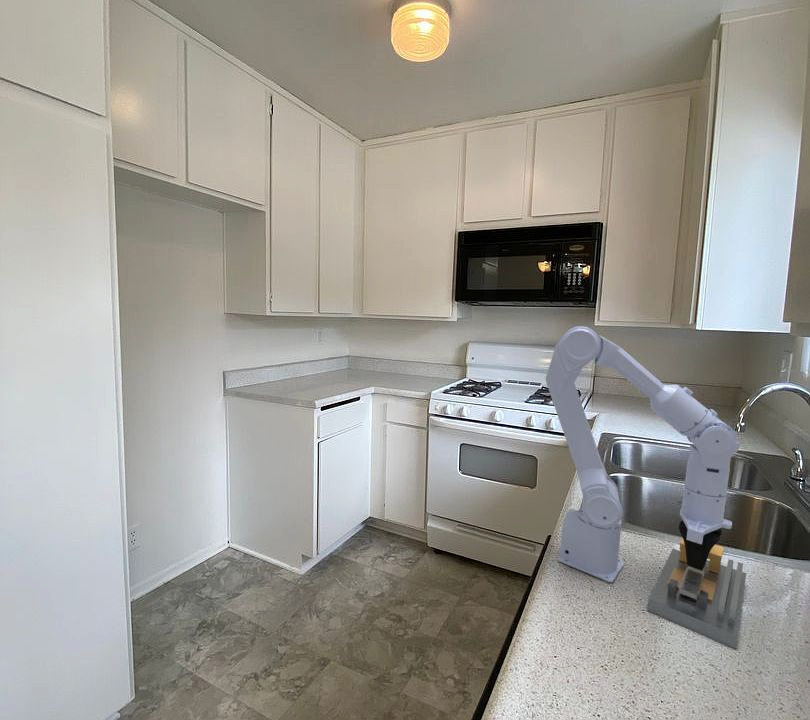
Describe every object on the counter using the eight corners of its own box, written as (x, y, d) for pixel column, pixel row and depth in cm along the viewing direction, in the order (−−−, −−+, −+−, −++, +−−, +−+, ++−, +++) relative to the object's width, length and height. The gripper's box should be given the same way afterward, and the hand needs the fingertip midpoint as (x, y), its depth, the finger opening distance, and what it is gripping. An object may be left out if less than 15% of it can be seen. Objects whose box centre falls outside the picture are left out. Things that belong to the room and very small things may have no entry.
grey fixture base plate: (647, 610, 66) (650, 584, 66) (671, 558, 81) (674, 536, 80) (736, 649, 59) (740, 619, 58) (744, 584, 74) (748, 560, 73)
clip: (678, 559, 77) (680, 543, 76) (682, 551, 80) (683, 535, 79) (719, 574, 73) (721, 556, 72) (721, 564, 76) (723, 547, 75)
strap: (678, 592, 67) (678, 588, 66) (689, 563, 75) (689, 560, 75) (696, 599, 65) (697, 595, 65) (705, 569, 73) (706, 565, 73)
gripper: (731, 512, 62) (720, 598, 64) (738, 484, 73) (728, 558, 74) (675, 497, 67) (666, 577, 68) (690, 473, 78) (681, 543, 79)
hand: (695, 566), depth 72 cm, fingers closed
